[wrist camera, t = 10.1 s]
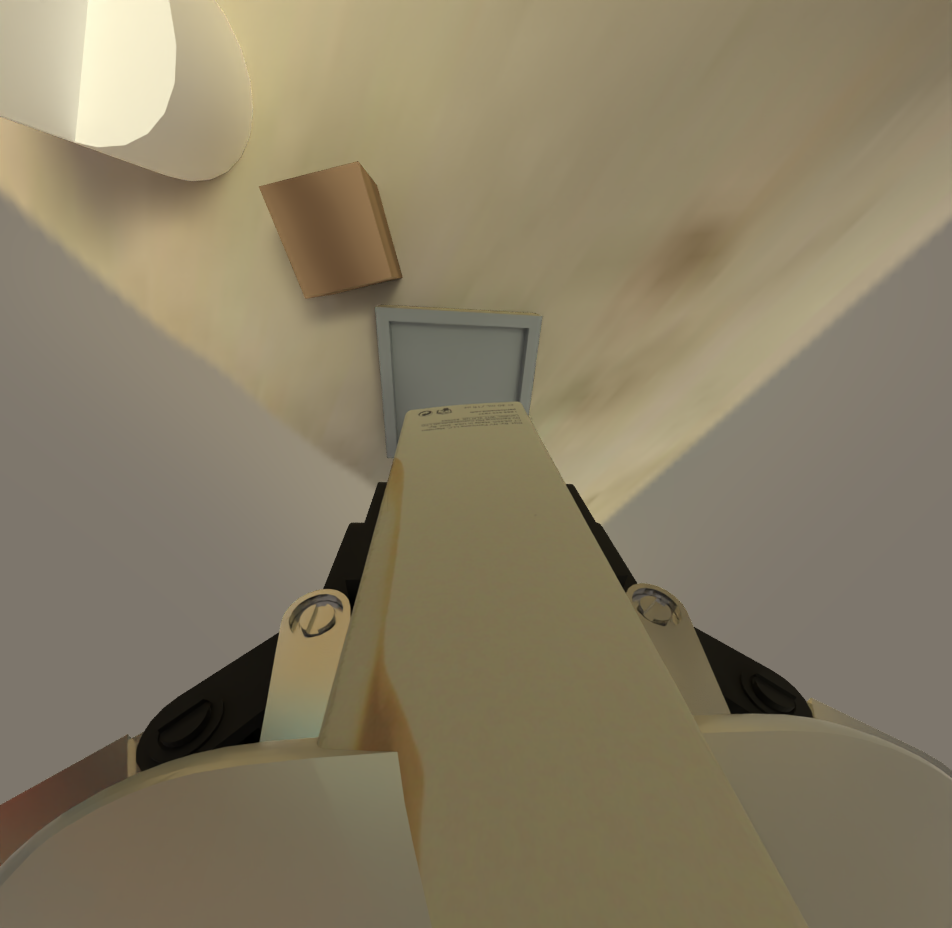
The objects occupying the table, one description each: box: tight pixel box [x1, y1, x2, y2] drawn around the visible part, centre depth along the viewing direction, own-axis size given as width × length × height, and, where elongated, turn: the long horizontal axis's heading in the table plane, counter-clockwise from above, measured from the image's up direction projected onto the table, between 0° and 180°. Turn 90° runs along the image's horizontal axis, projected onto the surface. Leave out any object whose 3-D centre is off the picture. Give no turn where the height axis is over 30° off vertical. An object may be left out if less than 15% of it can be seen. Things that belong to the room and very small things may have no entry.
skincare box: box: [317, 402, 809, 928], centre depth 8 cm, size 6×4×12 cm
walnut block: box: [259, 161, 402, 299], centre depth 20 cm, size 5×5×5 cm
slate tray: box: [375, 304, 542, 458], centre depth 26 cm, size 11×11×2 cm
